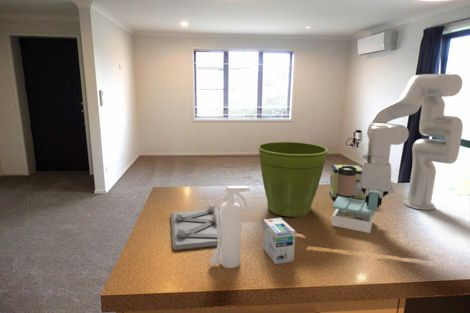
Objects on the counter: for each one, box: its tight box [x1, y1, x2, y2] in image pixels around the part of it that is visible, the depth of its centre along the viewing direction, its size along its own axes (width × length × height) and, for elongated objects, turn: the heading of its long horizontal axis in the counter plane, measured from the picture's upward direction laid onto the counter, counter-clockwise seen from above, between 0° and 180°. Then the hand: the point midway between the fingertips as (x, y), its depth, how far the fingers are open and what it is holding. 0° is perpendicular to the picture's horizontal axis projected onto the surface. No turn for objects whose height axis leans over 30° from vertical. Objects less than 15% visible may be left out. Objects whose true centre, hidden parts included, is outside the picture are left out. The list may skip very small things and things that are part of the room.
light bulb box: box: [262, 217, 296, 265], centre depth 100 cm, size 11×7×11 cm, turn 17°
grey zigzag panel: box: [170, 203, 220, 251], centre depth 118 cm, size 30×22×7 cm
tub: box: [331, 209, 374, 234], centre depth 122 cm, size 11×14×5 cm
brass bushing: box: [344, 213, 352, 218], centre depth 124 cm, size 3×3×3 cm
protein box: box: [328, 164, 366, 201], centre depth 154 cm, size 10×16×16 cm
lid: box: [331, 189, 379, 216], centre depth 120 cm, size 12×16×7 cm
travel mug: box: [336, 166, 357, 199], centre depth 135 cm, size 8×8×20 cm
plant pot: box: [257, 141, 329, 218], centre depth 136 cm, size 30×30×29 cm
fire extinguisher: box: [208, 185, 250, 269], centre depth 93 cm, size 7×12×25 cm, turn 112°
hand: (373, 205), depth 118 cm, fingers closed on lid, 3 cm apart
